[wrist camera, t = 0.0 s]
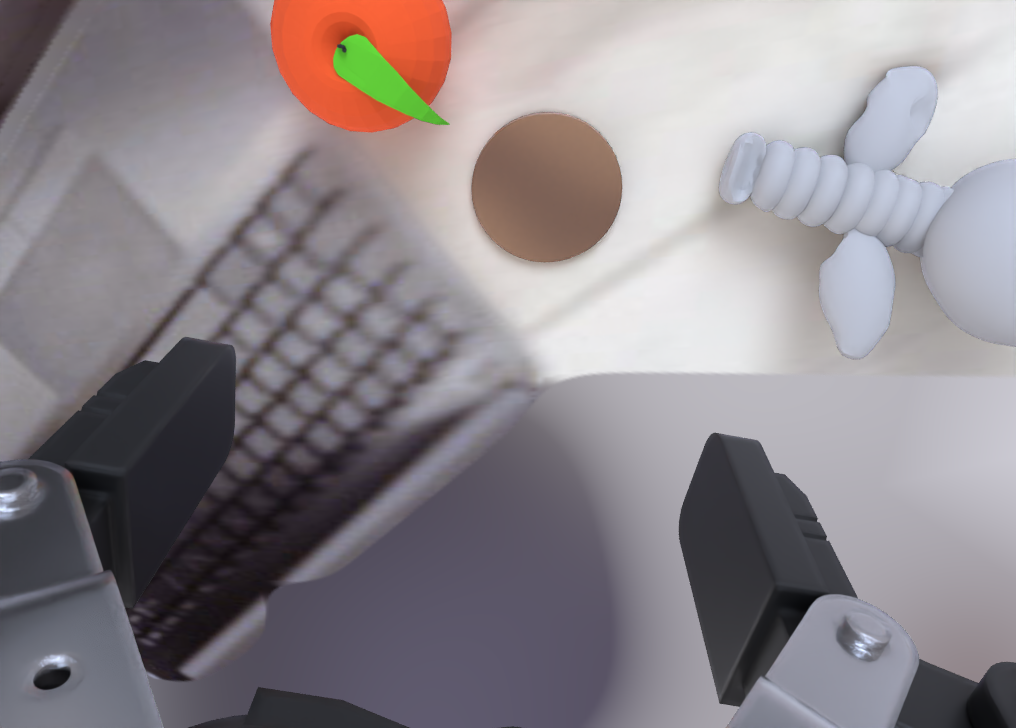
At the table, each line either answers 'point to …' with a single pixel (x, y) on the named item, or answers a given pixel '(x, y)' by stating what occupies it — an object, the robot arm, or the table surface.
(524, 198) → the cork coaster
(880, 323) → the toy creature
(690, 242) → the table surface
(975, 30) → the table surface
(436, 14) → the clementine
